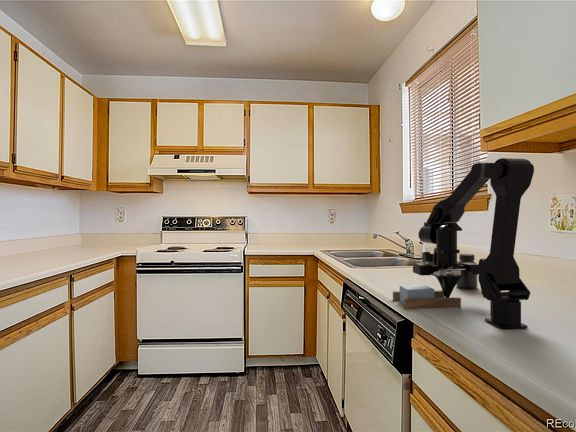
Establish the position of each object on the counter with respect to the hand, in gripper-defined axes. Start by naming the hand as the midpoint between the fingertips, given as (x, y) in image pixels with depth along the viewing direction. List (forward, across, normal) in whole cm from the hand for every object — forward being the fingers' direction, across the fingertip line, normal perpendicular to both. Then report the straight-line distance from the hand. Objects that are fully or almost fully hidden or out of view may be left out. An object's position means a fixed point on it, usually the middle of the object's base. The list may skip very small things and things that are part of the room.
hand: (446, 297), depth 104 cm
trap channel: (+2, +7, 0) cm, 7 cm away
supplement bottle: (+2, -17, -19) cm, 26 cm away
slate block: (+2, +9, 0) cm, 9 cm away
